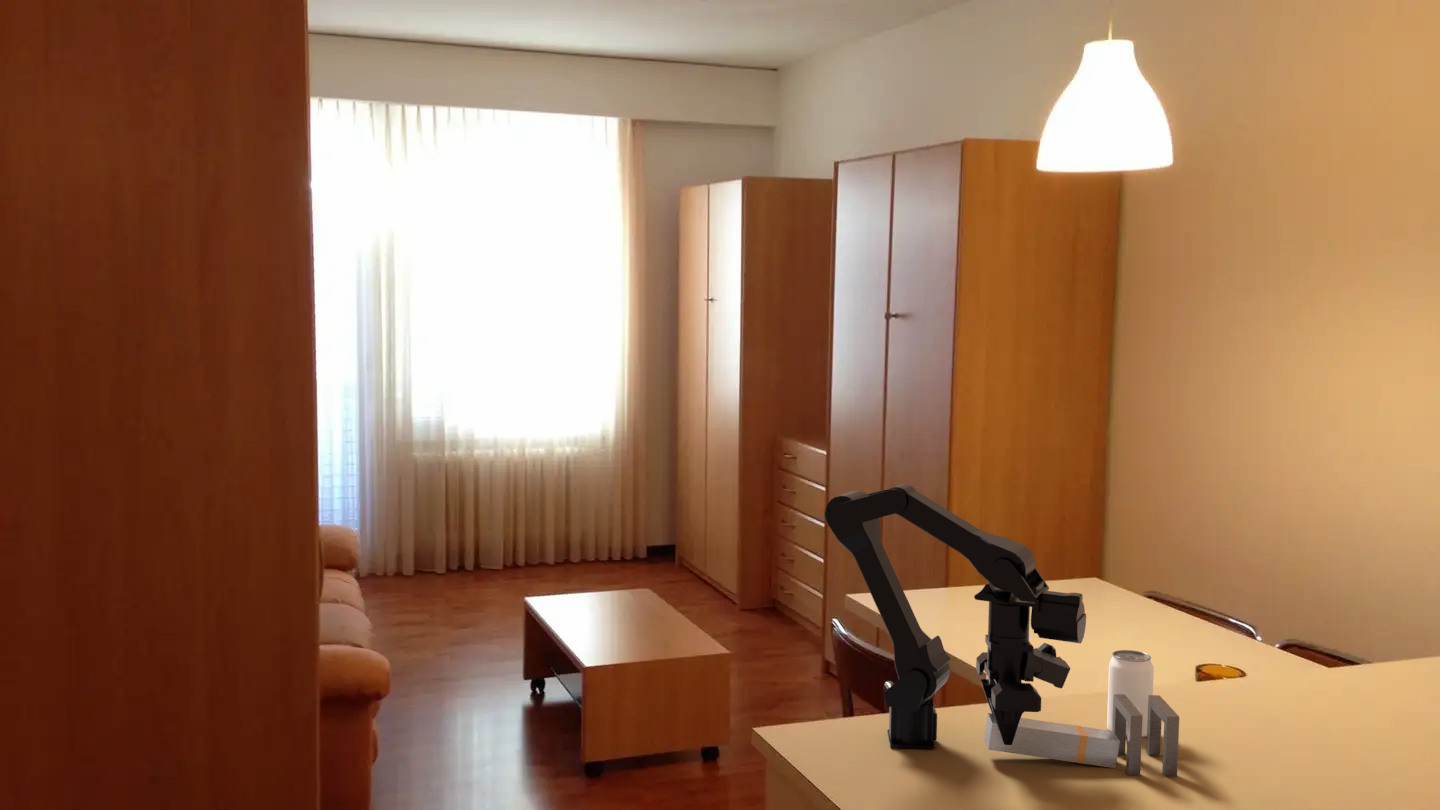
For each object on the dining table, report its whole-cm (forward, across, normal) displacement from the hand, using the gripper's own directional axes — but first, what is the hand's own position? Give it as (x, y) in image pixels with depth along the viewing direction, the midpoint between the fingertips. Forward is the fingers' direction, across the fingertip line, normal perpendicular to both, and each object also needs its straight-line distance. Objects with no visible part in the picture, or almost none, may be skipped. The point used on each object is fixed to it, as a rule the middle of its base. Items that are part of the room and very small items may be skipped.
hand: (1005, 739), depth 170 cm
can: (+3, +13, -21) cm, 25 cm away
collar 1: (+3, 0, -17) cm, 17 cm away
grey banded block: (+2, 0, -6) cm, 6 cm away
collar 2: (+3, 0, -22) cm, 22 cm away
